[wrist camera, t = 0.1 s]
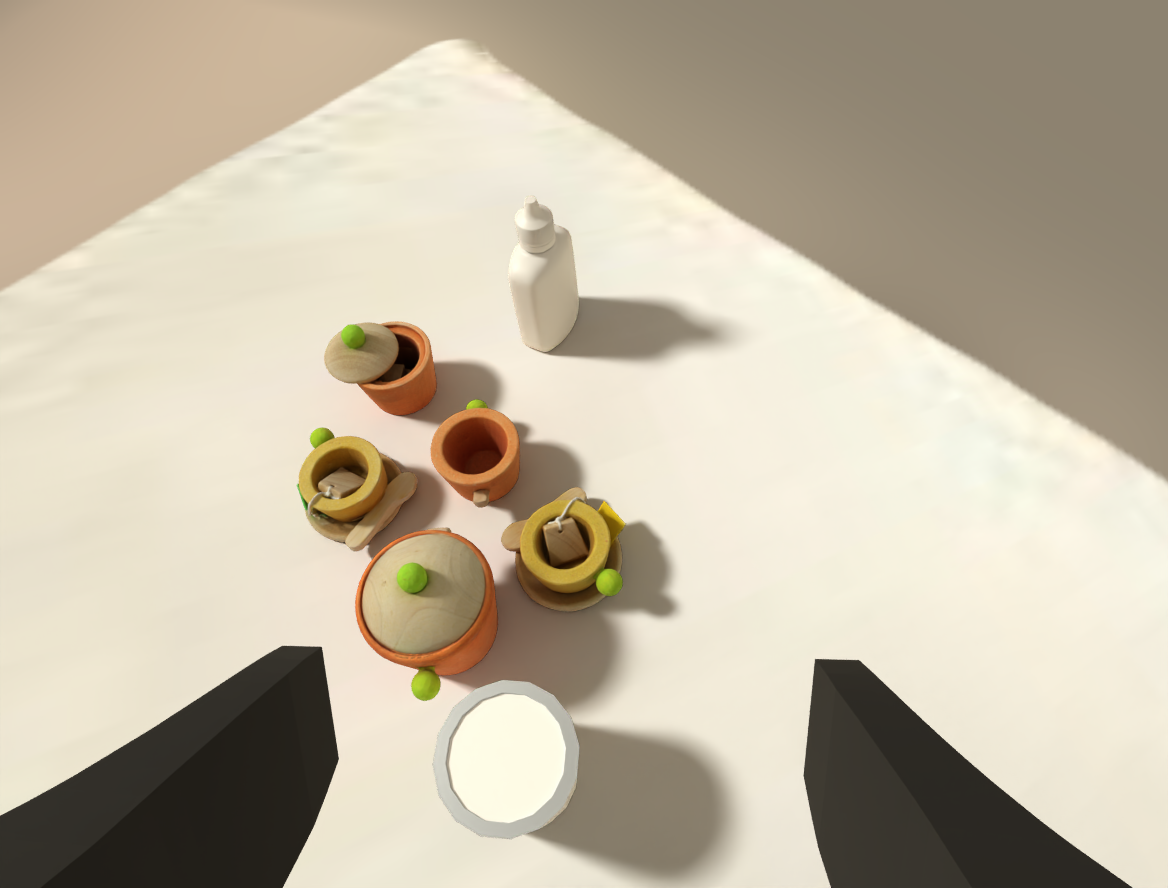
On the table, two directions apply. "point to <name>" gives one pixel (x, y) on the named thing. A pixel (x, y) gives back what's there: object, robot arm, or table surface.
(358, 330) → the toy tea set
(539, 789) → the white cylinder
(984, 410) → the table surface
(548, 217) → the eye dropper bottle
